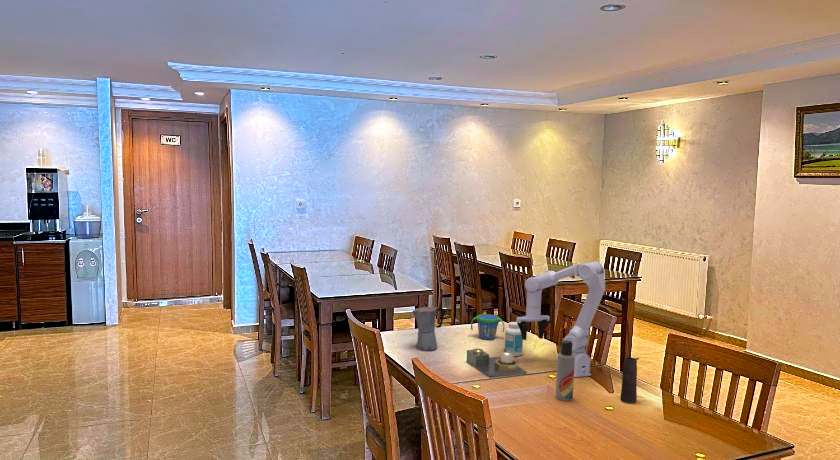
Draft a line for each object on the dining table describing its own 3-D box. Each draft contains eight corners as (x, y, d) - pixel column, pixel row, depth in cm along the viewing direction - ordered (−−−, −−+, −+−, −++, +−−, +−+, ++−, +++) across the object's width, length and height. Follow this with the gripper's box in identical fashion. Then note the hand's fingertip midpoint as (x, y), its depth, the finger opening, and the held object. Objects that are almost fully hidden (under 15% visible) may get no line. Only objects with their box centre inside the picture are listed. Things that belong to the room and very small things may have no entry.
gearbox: (526, 373, 227) (527, 358, 227) (489, 377, 221) (490, 362, 221) (501, 358, 246) (501, 344, 245) (466, 361, 240) (467, 347, 239)
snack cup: (505, 336, 280) (506, 315, 279) (502, 342, 270) (503, 320, 269) (472, 333, 284) (473, 312, 283) (468, 339, 274) (469, 317, 273)
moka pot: (406, 346, 259) (408, 301, 257) (438, 343, 265) (439, 299, 264) (415, 352, 250) (417, 306, 249) (448, 349, 257) (449, 303, 255)
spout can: (515, 368, 230) (515, 351, 230) (504, 369, 228) (504, 352, 228) (508, 364, 235) (508, 347, 234) (497, 366, 233) (498, 348, 232)
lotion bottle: (573, 401, 199) (576, 343, 198) (555, 400, 200) (558, 342, 199) (572, 396, 205) (575, 339, 203) (555, 394, 206) (558, 338, 204)
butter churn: (645, 398, 205) (650, 318, 202) (646, 407, 196) (651, 324, 193) (617, 394, 208) (622, 315, 205) (617, 403, 199) (621, 321, 196)
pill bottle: (521, 352, 256) (522, 321, 254) (522, 357, 248) (524, 325, 247) (504, 351, 256) (505, 320, 255) (504, 356, 249) (506, 324, 248)
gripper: (543, 303, 247) (542, 335, 248) (513, 305, 242) (511, 337, 243) (553, 306, 241) (551, 339, 242) (522, 308, 235) (520, 342, 237)
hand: (532, 338), depth 242 cm, fingers open, 7 cm apart
